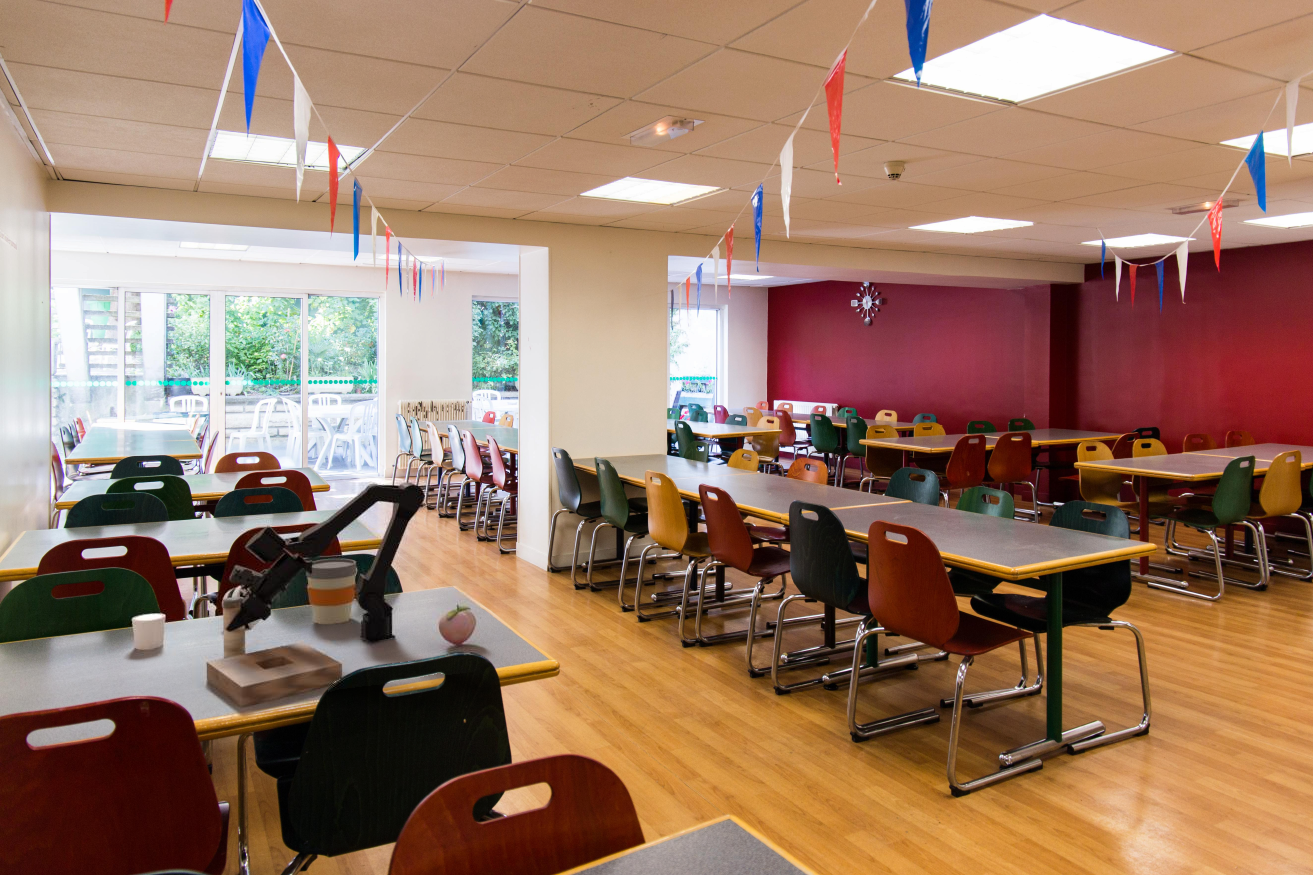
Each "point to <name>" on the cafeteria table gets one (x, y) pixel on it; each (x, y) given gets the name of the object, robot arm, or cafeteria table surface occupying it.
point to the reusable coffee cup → (332, 590)
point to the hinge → (236, 593)
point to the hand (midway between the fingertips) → (227, 627)
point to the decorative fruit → (457, 625)
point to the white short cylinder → (148, 630)
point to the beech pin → (235, 638)
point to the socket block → (273, 673)
